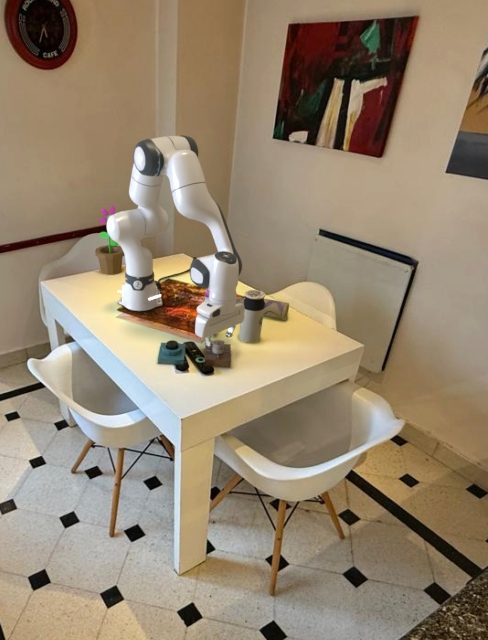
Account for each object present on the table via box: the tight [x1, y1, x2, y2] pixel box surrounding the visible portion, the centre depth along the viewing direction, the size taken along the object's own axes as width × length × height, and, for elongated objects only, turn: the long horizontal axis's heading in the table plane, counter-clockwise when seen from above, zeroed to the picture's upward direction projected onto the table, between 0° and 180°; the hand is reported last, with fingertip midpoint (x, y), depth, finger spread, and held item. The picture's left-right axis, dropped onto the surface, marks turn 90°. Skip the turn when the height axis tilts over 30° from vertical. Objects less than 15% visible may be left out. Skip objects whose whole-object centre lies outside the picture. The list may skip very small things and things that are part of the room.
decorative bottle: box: [263, 298, 290, 320], centre depth 190 cm, size 26×8×7 cm, turn 63°
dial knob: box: [212, 339, 225, 354], centre depth 159 cm, size 4×4×4 cm
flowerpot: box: [94, 204, 125, 275], centre depth 219 cm, size 14×14×30 cm
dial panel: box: [203, 342, 232, 369], centre depth 161 cm, size 11×9×3 cm
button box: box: [157, 341, 187, 366], centre depth 162 cm, size 11×9×4 cm
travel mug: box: [238, 289, 266, 344], centre depth 169 cm, size 8×8×18 cm
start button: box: [166, 339, 179, 350], centre depth 160 cm, size 4×4×2 cm
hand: (219, 340), depth 157 cm, fingers open, 8 cm apart
